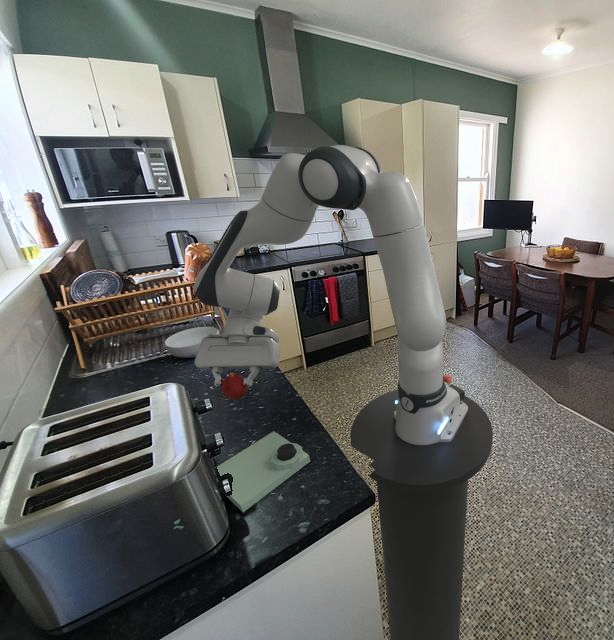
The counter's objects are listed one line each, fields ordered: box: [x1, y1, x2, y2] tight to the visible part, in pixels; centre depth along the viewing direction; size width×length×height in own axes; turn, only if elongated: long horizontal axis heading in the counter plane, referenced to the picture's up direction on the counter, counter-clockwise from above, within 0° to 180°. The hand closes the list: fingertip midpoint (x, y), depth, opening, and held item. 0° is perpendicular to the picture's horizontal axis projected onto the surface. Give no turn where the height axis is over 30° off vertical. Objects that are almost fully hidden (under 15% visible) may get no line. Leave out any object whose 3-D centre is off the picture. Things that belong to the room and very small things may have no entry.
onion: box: [220, 372, 249, 401], centre depth 87 cm, size 6×6×8 cm
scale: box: [216, 430, 311, 513], centre depth 77 cm, size 16×14×4 cm
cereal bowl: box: [164, 326, 220, 359], centre depth 127 cm, size 17×17×7 cm
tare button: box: [277, 442, 295, 461], centre depth 77 cm, size 4×4×2 cm
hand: (233, 386), depth 86 cm, fingers closed on onion, 6 cm apart
